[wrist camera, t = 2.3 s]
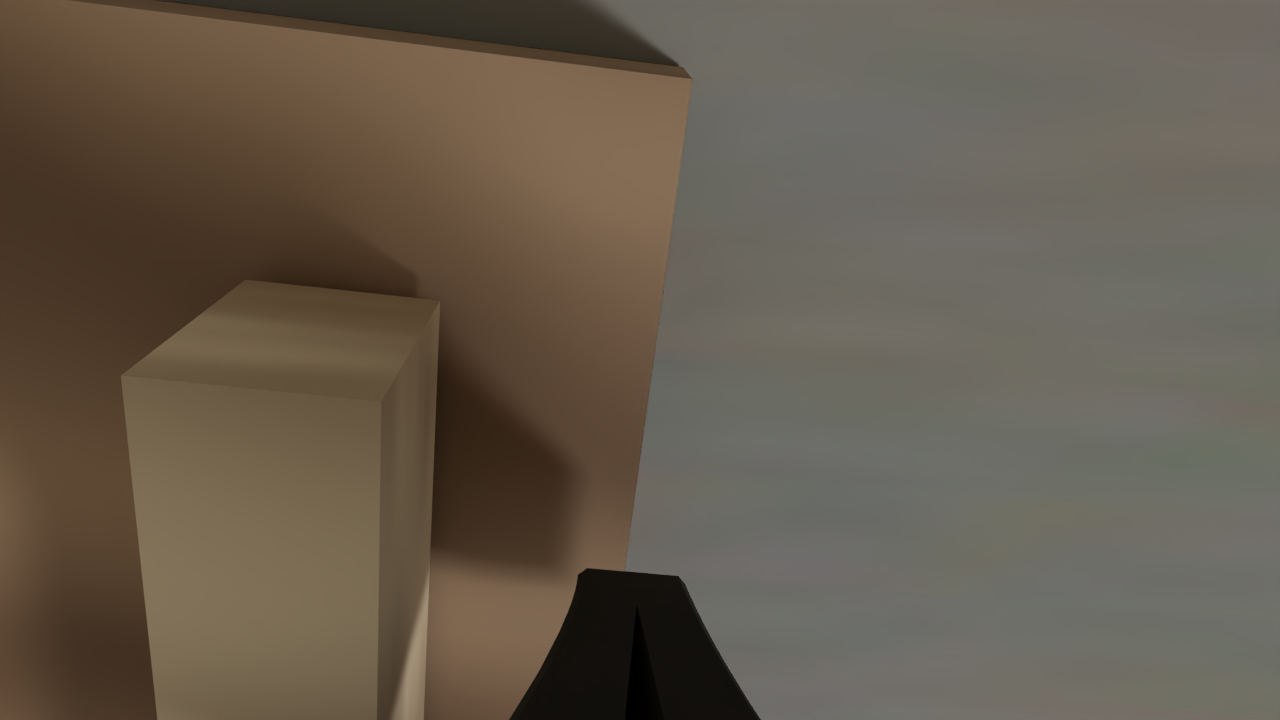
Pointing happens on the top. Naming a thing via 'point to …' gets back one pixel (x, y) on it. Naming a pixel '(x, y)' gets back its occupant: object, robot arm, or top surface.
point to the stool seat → (335, 259)
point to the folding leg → (287, 504)
